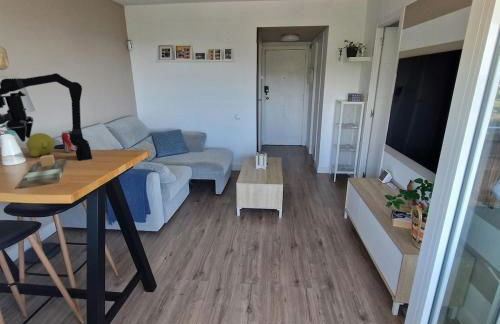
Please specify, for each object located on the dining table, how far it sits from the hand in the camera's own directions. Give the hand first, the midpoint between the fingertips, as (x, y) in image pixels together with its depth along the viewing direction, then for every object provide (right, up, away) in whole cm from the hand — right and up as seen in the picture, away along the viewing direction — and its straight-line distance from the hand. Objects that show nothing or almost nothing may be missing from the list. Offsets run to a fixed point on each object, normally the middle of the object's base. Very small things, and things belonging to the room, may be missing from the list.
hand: (26, 139), depth 131 cm
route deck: (+17, -16, -9) cm, 25 cm away
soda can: (+2, -5, +31) cm, 31 cm away
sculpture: (-10, -7, +25) cm, 28 cm away
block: (+13, -12, -3) cm, 18 cm away
